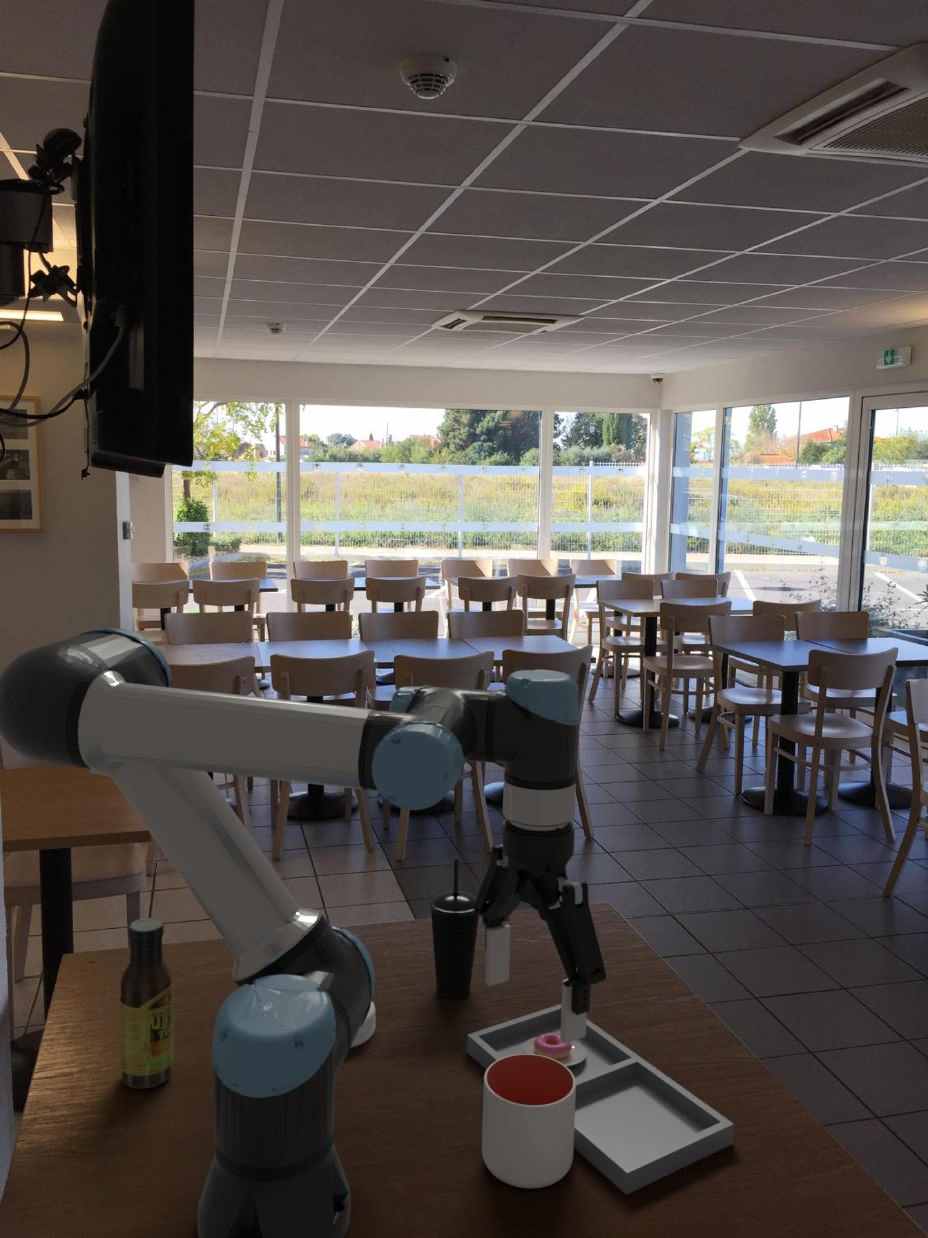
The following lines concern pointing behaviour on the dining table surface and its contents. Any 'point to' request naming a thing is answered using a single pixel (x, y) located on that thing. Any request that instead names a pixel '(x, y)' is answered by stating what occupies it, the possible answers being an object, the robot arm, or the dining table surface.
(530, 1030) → the carrier tray
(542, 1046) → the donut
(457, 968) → the drinking cup
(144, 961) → the sauce bottle
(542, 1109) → the cup
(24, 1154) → the dining table surface
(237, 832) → the robot arm
